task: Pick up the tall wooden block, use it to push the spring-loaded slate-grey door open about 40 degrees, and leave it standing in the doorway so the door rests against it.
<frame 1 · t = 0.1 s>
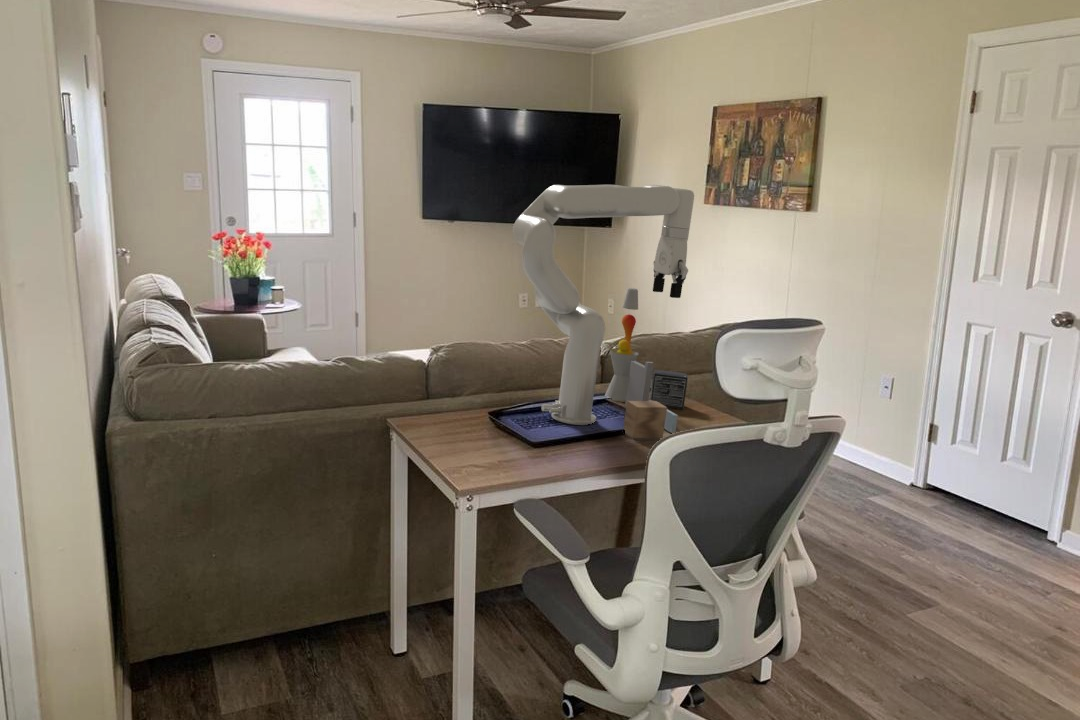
hand: (666, 294, 229), 37 cm above the table, tool pointing down, fingers open, 9 cm apart
wooden block: (642, 435, 219), on the table
grey rectangular panel: (646, 417, 238), on the table
lava lamp: (618, 398, 257), on the table
door: (663, 416, 230), point 3 cm above the table, hinge at 0.0°
small box: (666, 405, 255), on the table
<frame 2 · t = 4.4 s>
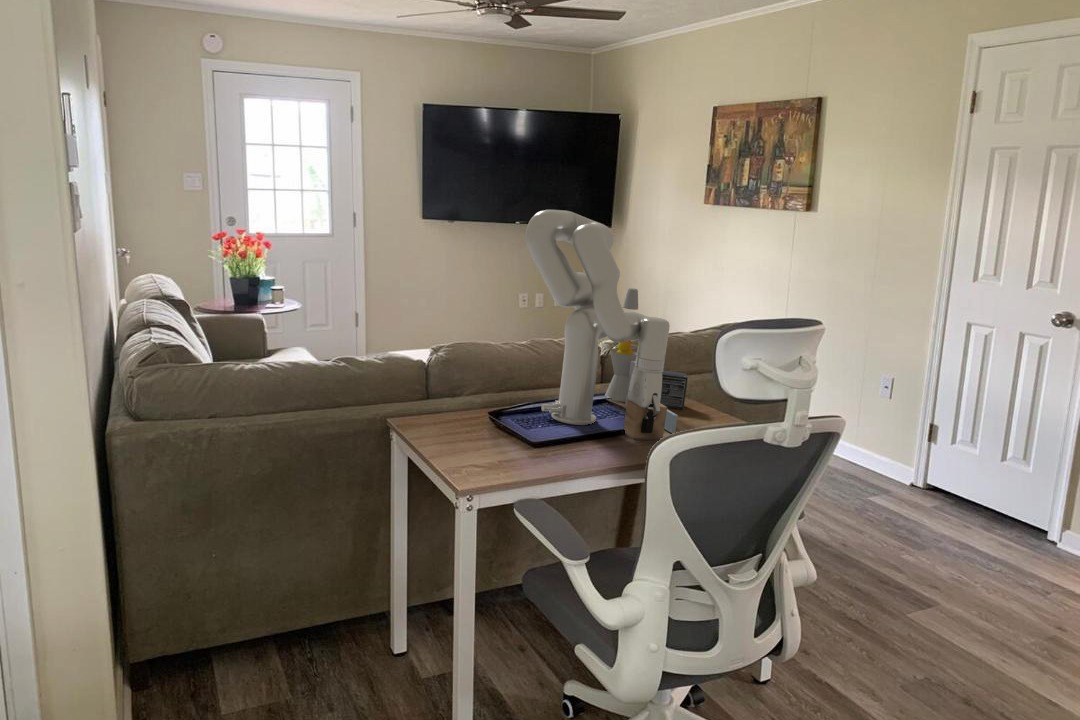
hand: (640, 428, 219), 2 cm above the table, tool pointing down, fingers closed on wooden block, 6 cm apart
wooden block: (642, 435, 219), on the table, touching gripper
everything else where it was.
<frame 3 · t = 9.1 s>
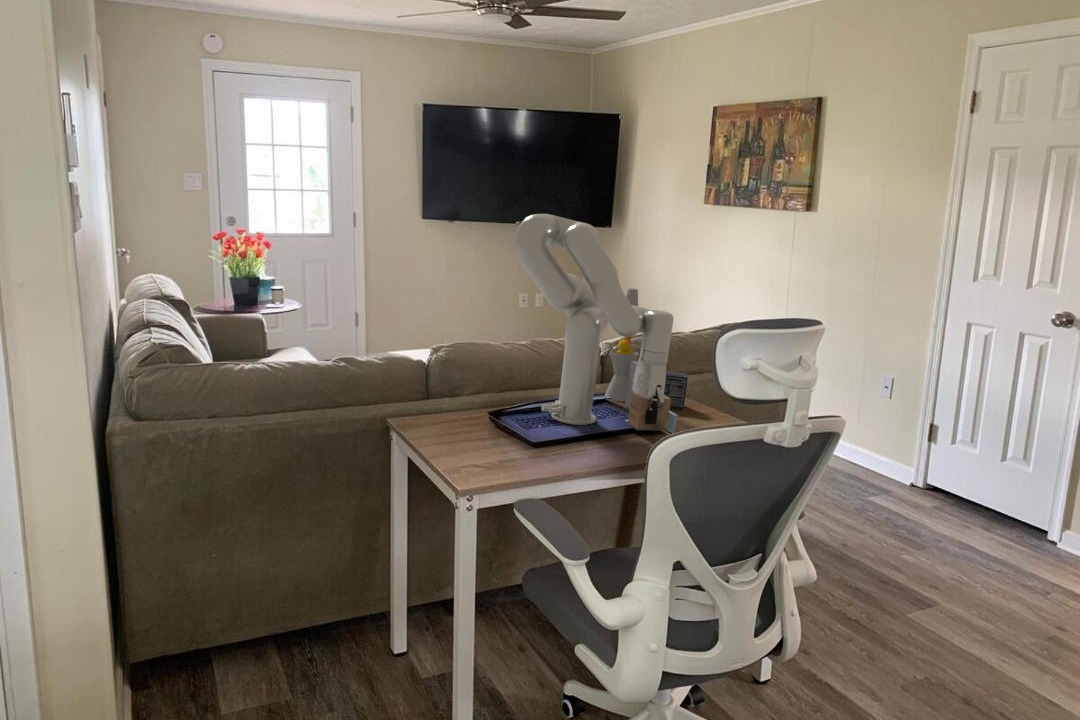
hand: (644, 419, 223), 3 cm above the table, tool pointing down, fingers closed on wooden block, 6 cm apart
wooden block: (646, 426, 224), point 1 cm above the table, touching gripper
everything else where it was.
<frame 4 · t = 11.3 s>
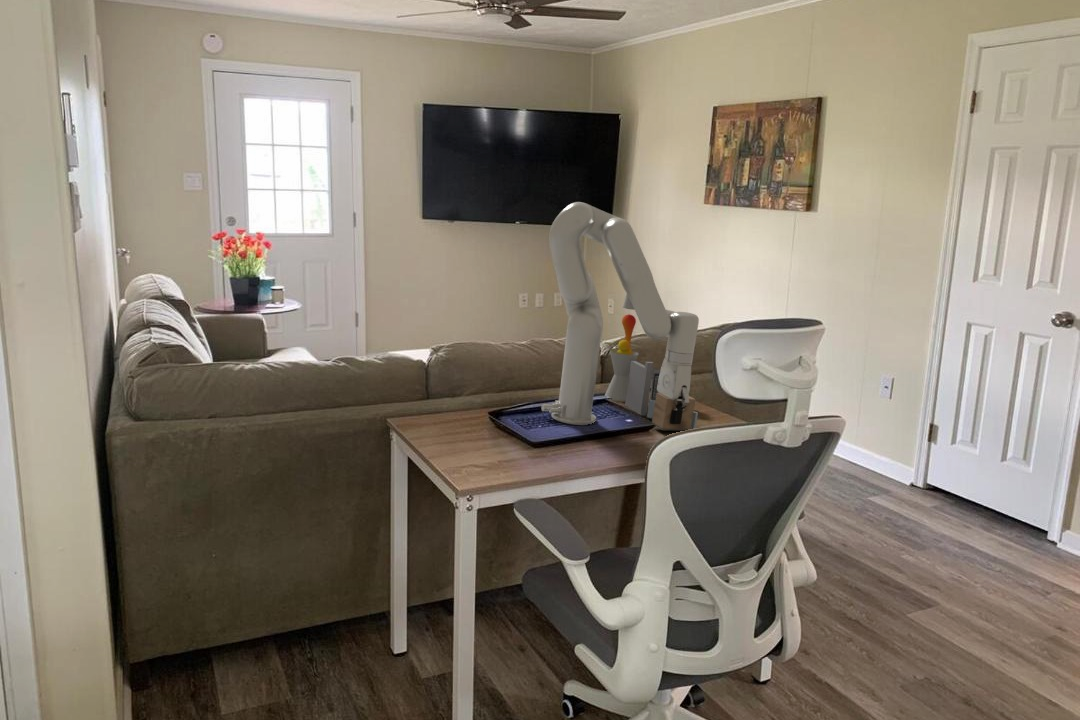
hand: (669, 419, 226), 3 cm above the table, tool pointing down, fingers closed on wooden block, 6 cm apart
wooden block: (671, 426, 226), point 1 cm above the table, touching door, gripper
door: (672, 414, 233), point 3 cm above the table, hinge at 33.0°, touching wooden block
everything else where it was.
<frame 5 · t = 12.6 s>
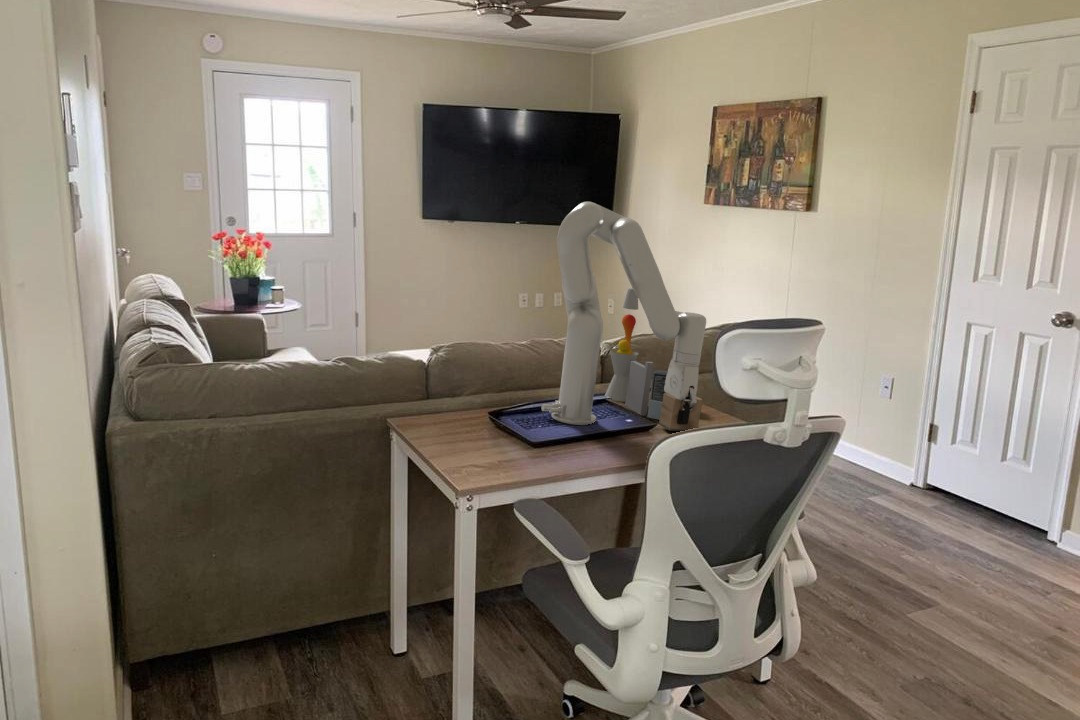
hand: (676, 419, 227), 3 cm above the table, tool pointing down, fingers closed on wooden block, 6 cm apart
wooden block: (678, 427, 227), point 1 cm above the table, touching door, gripper
door: (674, 413, 234), point 3 cm above the table, hinge at 42.3°, touching wooden block
everything else where it was.
when the fingers open (3 cm above the table, at t = 13.9 s): wooden block drops 1 cm, resting on door.
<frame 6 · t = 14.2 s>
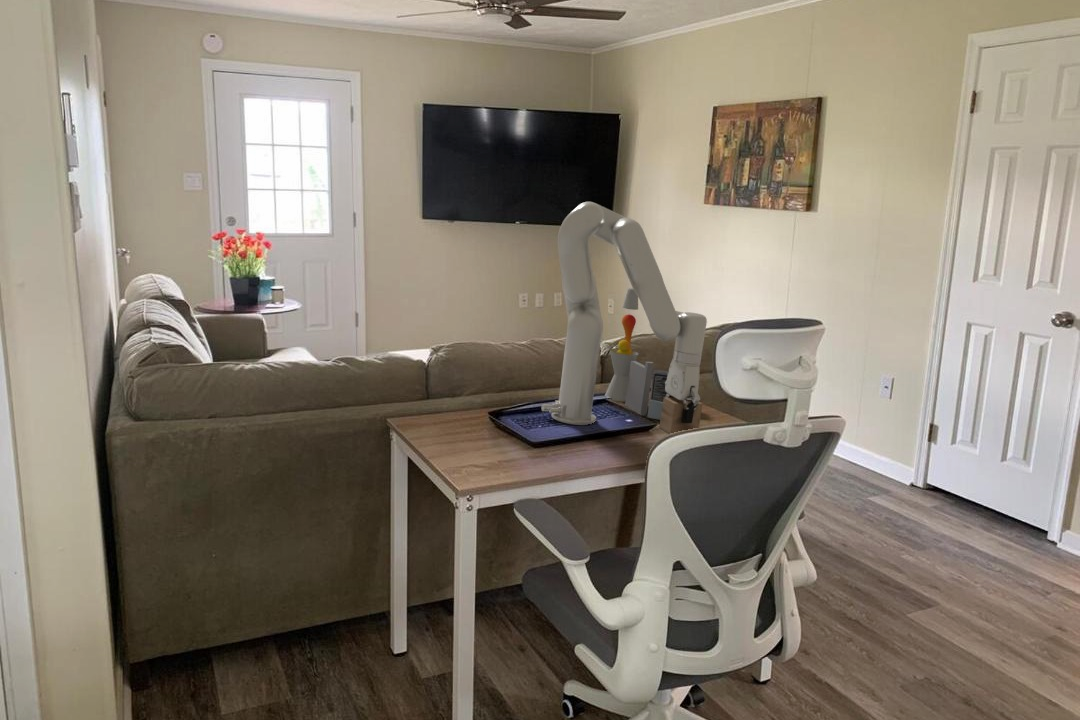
hand: (677, 417, 226), 4 cm above the table, tool pointing down, fingers open, 8 cm apart
wooden block: (678, 431, 228), resting on door
everything else where it was.
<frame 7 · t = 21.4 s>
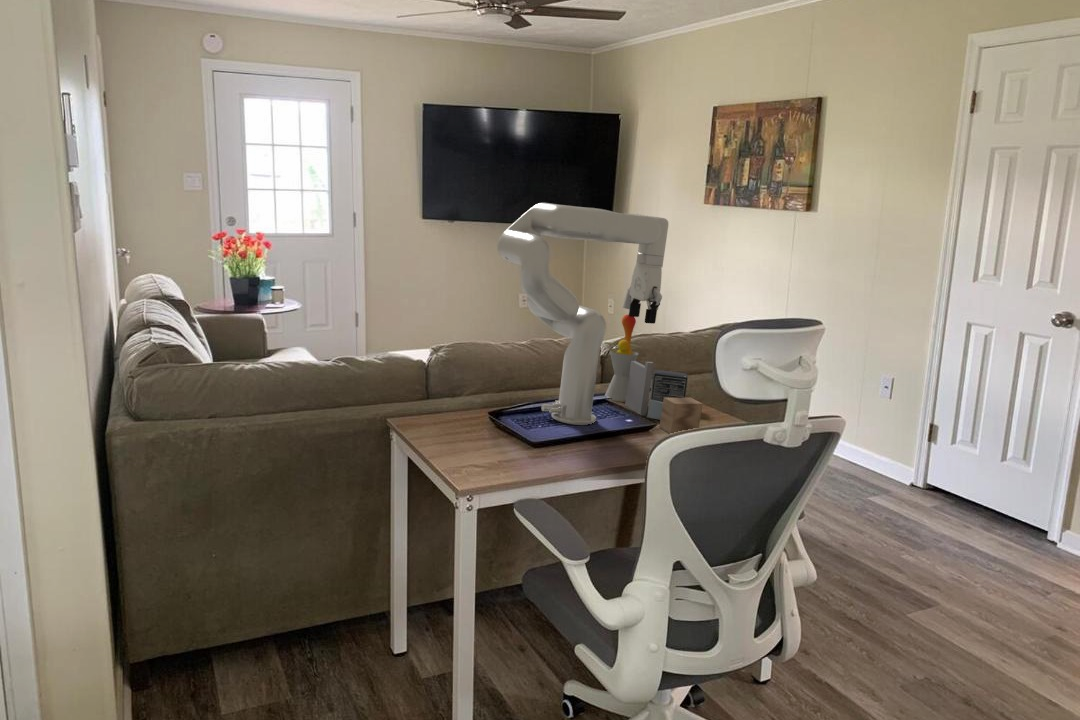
hand: (641, 319, 234), 28 cm above the table, tool pointing down, fingers open, 9 cm apart
door: (674, 413, 234), point 3 cm above the table, hinge at 42.5°, touching wooden block
everything else where it was.
at the end: door at +42° (first picture: +0°); wooden block inside the target area (0.1 cm from its centre), on the table; wooden block tilted 0° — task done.
